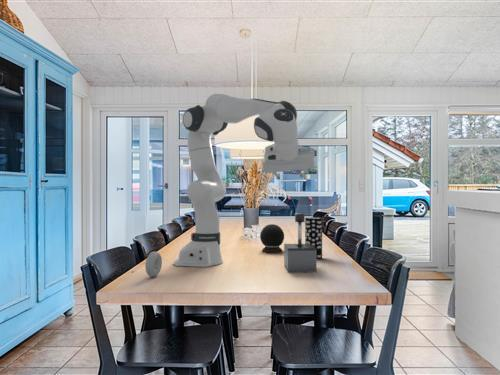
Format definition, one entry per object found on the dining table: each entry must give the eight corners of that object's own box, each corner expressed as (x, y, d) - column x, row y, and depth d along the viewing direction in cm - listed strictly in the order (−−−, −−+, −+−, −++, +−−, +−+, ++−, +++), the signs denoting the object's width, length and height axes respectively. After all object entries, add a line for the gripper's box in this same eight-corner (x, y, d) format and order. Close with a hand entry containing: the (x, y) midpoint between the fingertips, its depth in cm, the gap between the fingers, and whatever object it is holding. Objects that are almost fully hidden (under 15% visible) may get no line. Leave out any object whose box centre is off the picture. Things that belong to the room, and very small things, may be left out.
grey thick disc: (151, 280, 141) (151, 254, 141) (143, 279, 141) (143, 253, 141) (163, 274, 150) (163, 249, 150) (155, 273, 151) (155, 249, 151)
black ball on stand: (268, 248, 212) (268, 222, 212) (288, 251, 204) (288, 224, 204) (255, 252, 201) (255, 224, 201) (276, 254, 193) (276, 226, 193)
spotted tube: (322, 260, 179) (322, 218, 179) (304, 259, 181) (304, 218, 181) (322, 256, 187) (322, 217, 187) (305, 256, 189) (305, 217, 189)
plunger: (292, 254, 156) (292, 214, 156) (289, 251, 164) (289, 213, 163) (310, 254, 156) (310, 214, 156) (306, 251, 164) (306, 212, 164)
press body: (287, 272, 154) (287, 248, 154) (284, 266, 166) (284, 243, 166) (316, 272, 154) (316, 248, 154) (310, 265, 166) (310, 243, 166)
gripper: (313, 142, 142) (315, 170, 151) (261, 147, 144) (265, 174, 153) (315, 152, 137) (316, 180, 146) (260, 157, 140) (265, 184, 149)
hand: (289, 177), depth 150 cm, fingers open, 8 cm apart
